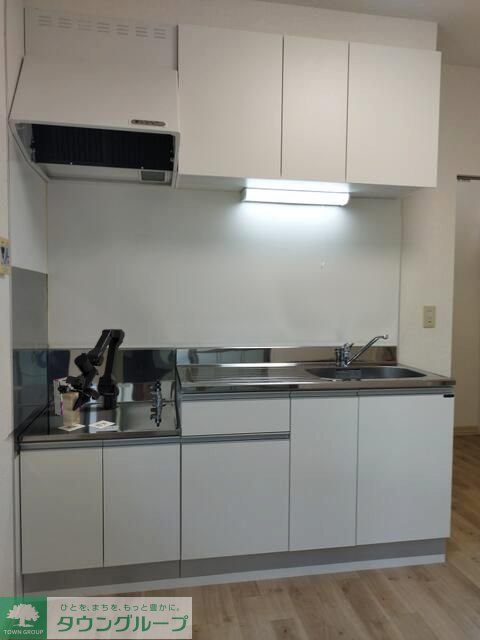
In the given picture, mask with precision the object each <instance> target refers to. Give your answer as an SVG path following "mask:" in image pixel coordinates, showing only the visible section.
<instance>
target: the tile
mask: <svg viewBox="0 0 480 640" xmlns="http://www.w3.org/2000/svg"><path fill="white" fill-rule="evenodd" d="M81 428H85V425H83V424H80V423H78V424H76V425H73V426H68V425H62V426H59V427H57V429H60V430H64V431H67V432H71V431H75V430H77V429H81Z"/></svg>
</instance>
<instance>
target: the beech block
mask: <svg viewBox="0 0 480 640" xmlns="http://www.w3.org/2000/svg"><path fill="white" fill-rule="evenodd" d="M62 399H63V415H62V417H63V418H62V419H63V425H62V426H65V425H68V426H73V425H76V424H80V423H81V421H80V419H81V418H80V411H79V408H78V409H76V410H75V411H73V410H72V409H73V407H74V405H75V403H76V401H77V399H78V393H77V392H68V393H64V394H62Z"/></svg>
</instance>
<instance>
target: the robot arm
mask: <svg viewBox="0 0 480 640" xmlns="http://www.w3.org/2000/svg"><path fill="white" fill-rule="evenodd" d="M125 336H126V333H125V331H124V330H123V329H122V328H121V329H120V328H108V329H107V328H105V329H102V331H101V335H100V337H99V338H98V340H97V342H96V344H95V345H94V348H92V349H90V350H89V351H88V352H87V353H86V352H81V353H80V354H78V356H76V357H75V358H74V359H73V363H74V364H75V366H76V367H77V369H78V371H79V372H81V373H80V374H79V375H67V376H66V377H67V378H66V382H65V383H68V384H71V387H73V389H71V388H70V387H69V386H68V385H59V387H58V389H57V390H58V391H59V392H60V393H61V394H64V393H68V392H77V393H78V399H77V401H76V403H75V405H74V407H73V409H72V410H73V411H75V410H76V409H78V408H79V407H81V408H82V406H84V405H85V404H87V403H88V402H91V400H92V401H98V400H99V399H100V397H101V399H102V406H100V407H99V408H100V409H104V410H113V409H116V408H117V409H118V408H119V407H120V406H119V405H118V403H117V402H118V401H117V397H118V396H120V393H121V391H120V388H119V386H118V385H117V384H118V383H117V379H116V376H115V371H116V367H117V360H118V354H119V353H118V352H119V347H120V346H121V345H122V344H123V343H124V339H125ZM106 350H107V354H106V359H105V356H104V354H105V353H106ZM104 362H105V367H104V372H103V375H102V376H100V373H99V369H97V367H102V365H103V364H104ZM75 376H77V377H75ZM96 376H99V378H98V384H97V390H96V388H95V387H93V385H94V384H93V381H94V379H95V378H96Z"/></svg>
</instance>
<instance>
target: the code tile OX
mask: <svg viewBox="0 0 480 640" xmlns="http://www.w3.org/2000/svg"><path fill="white" fill-rule="evenodd" d="M115 424H116V423H115V422H111V421H107V420H100V421H97V422H94V423H91V424H88V427H93V428H97V429H100V430H101V429H104V428H107V427H109V426H112V425H115Z"/></svg>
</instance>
